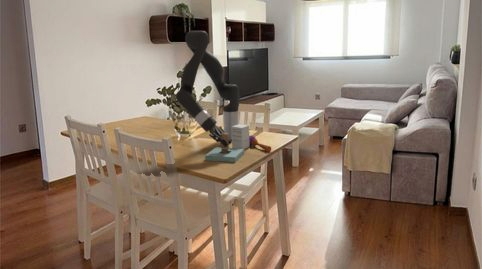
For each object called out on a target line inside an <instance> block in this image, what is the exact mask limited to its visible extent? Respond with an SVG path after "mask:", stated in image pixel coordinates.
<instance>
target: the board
mask: <svg viewBox="0 0 482 269" xmlns="http://www.w3.org/2000/svg"><path fill="white" fill-rule="evenodd" d="M243 155H245V149H236V148H232V147H229V149H228V153H222V150H221V147H214V148H213V149H211V150H210V151H209V152H208V153H207V154H205V155H204V160H205V161H211V162H212V161H213V162H228V163H237V162H238V160H240V159H241V157H243Z"/></svg>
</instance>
